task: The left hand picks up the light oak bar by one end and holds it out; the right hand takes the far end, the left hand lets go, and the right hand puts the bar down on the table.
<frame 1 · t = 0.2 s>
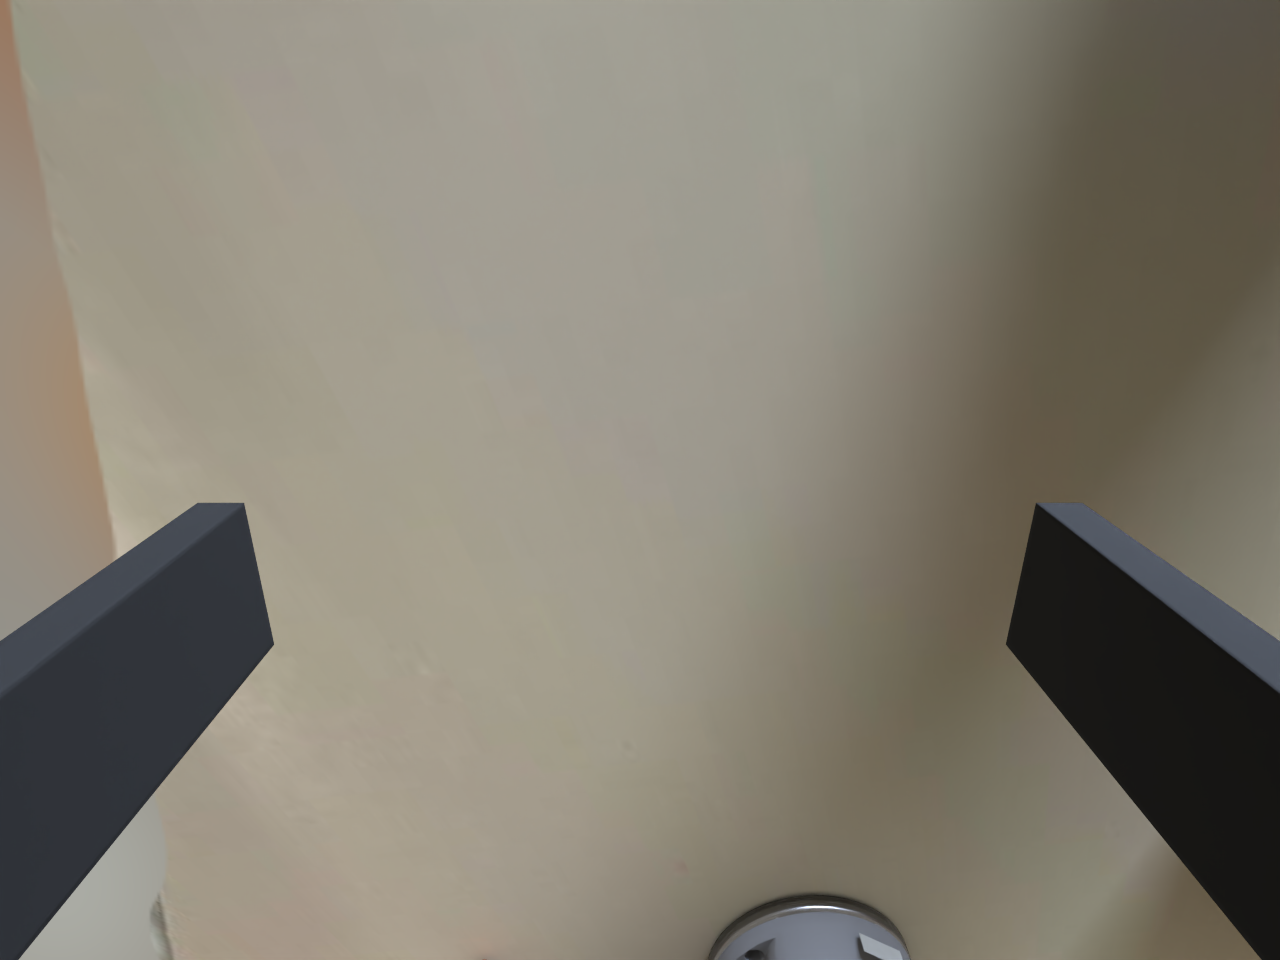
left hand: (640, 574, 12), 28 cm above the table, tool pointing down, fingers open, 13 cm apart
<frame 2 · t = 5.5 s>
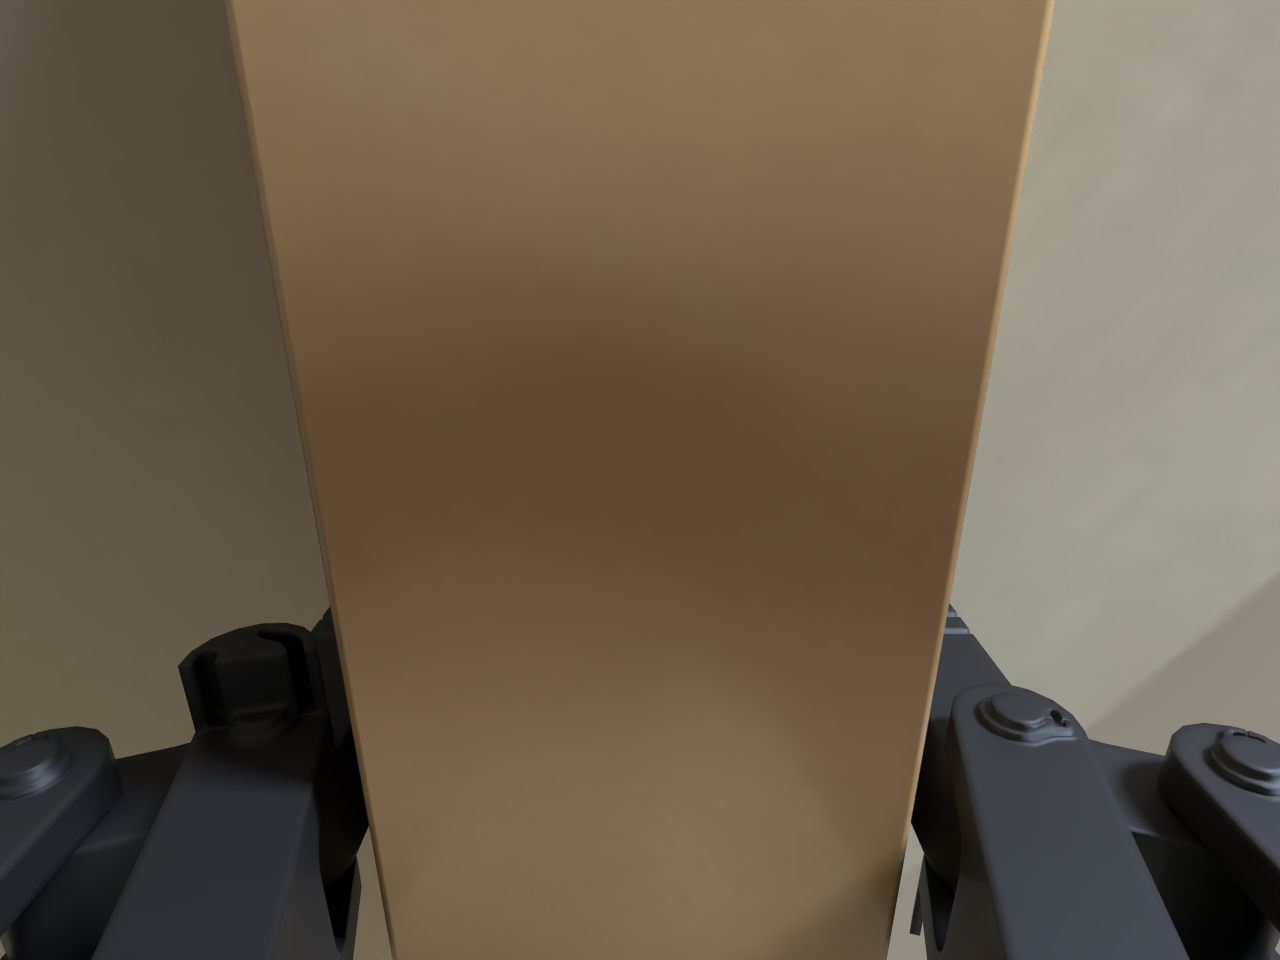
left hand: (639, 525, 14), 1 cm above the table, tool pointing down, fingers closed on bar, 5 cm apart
bar: (639, 32, 12), on the table, touching left hand
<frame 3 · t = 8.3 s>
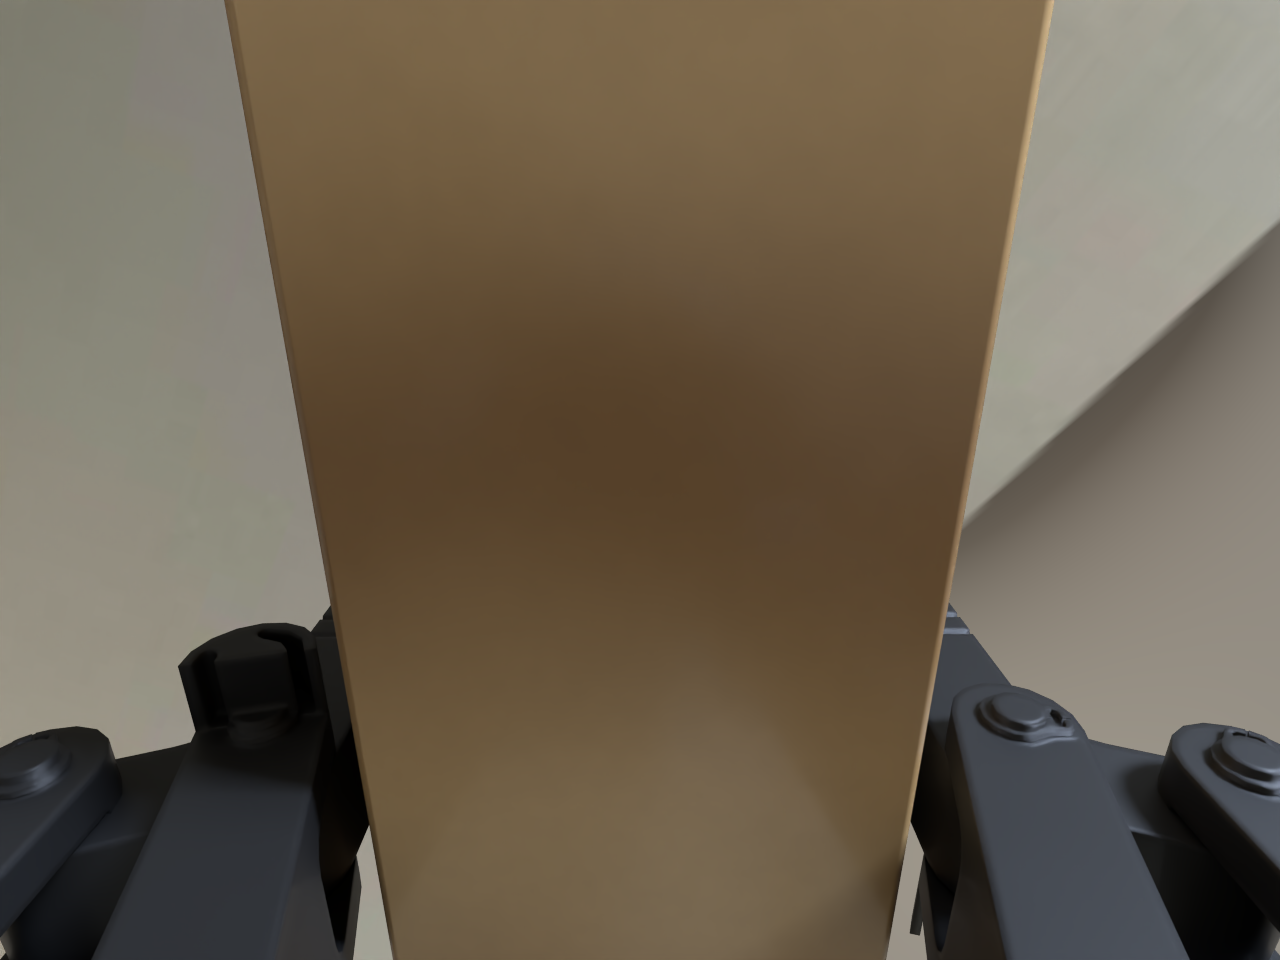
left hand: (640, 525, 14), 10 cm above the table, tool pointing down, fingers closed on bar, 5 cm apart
bar: (639, 33, 12), point 9 cm above the table, touching left hand
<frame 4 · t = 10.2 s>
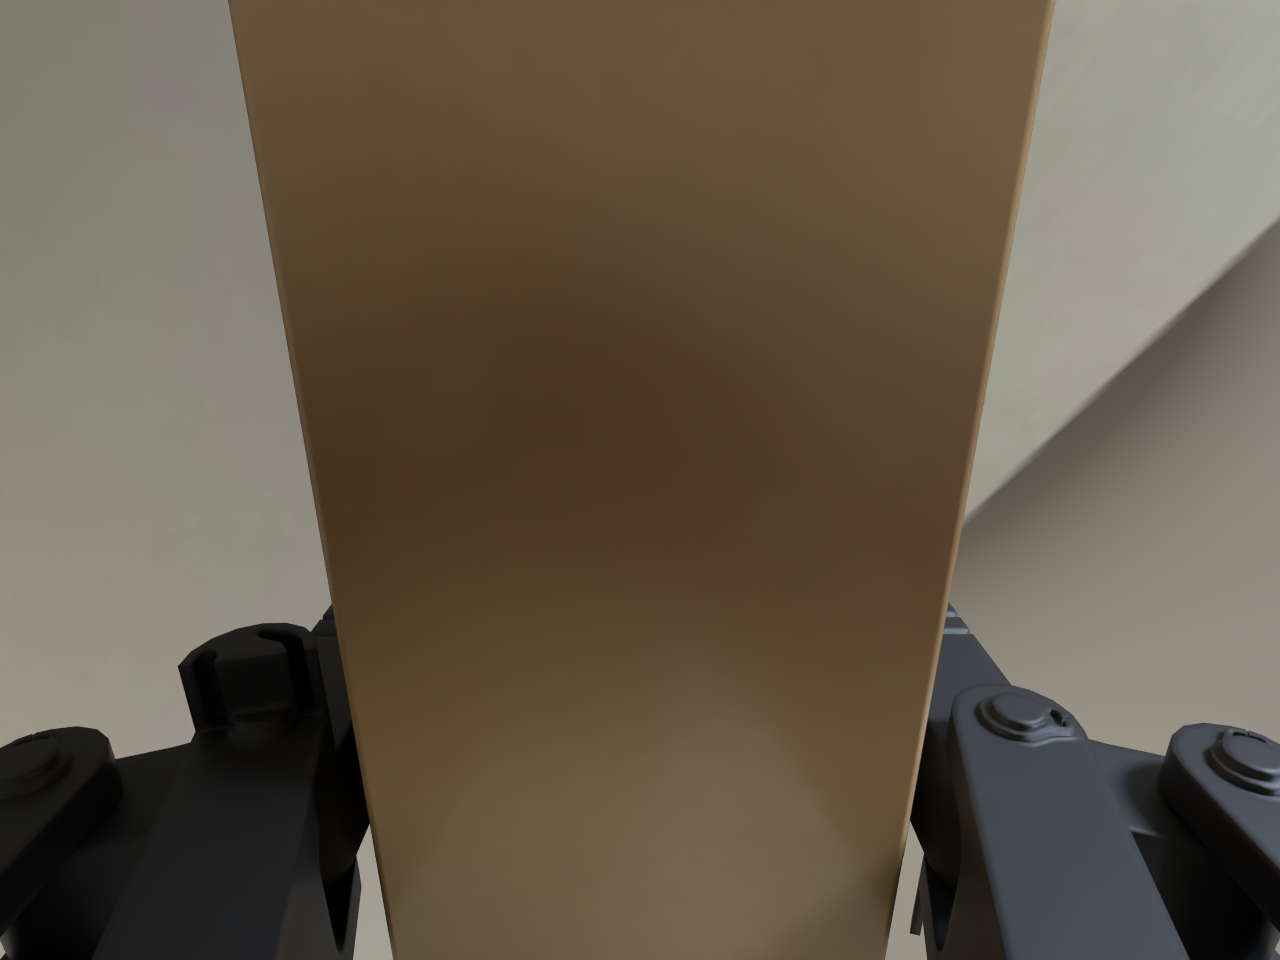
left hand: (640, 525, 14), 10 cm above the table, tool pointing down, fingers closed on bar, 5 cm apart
bar: (641, 33, 12), point 9 cm above the table, touching left hand, right hand
when the left hand's fingers open (10 cm above the table, at t = 11.0 s): bar stays where it is, held by the right hand.
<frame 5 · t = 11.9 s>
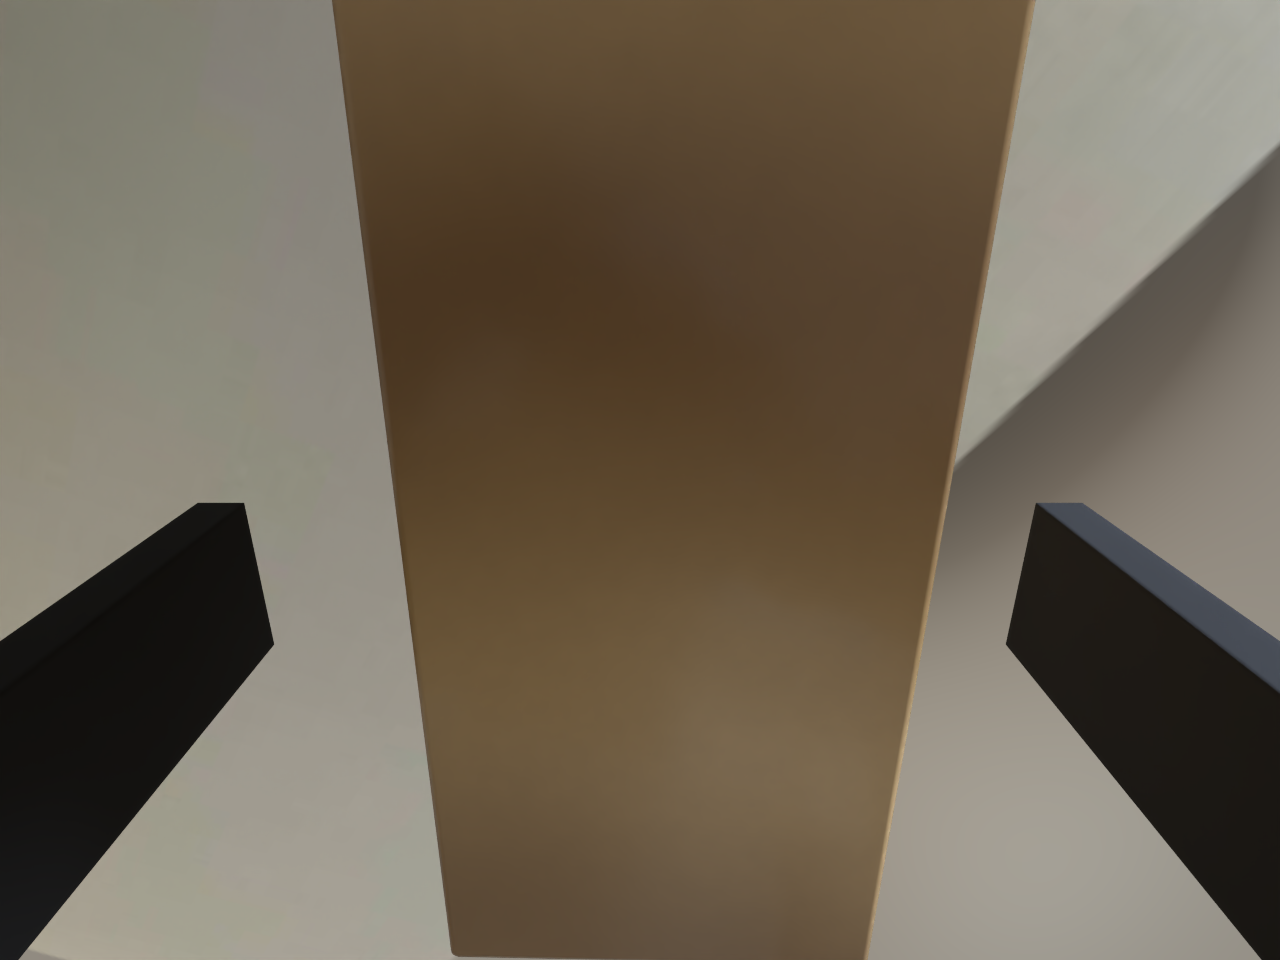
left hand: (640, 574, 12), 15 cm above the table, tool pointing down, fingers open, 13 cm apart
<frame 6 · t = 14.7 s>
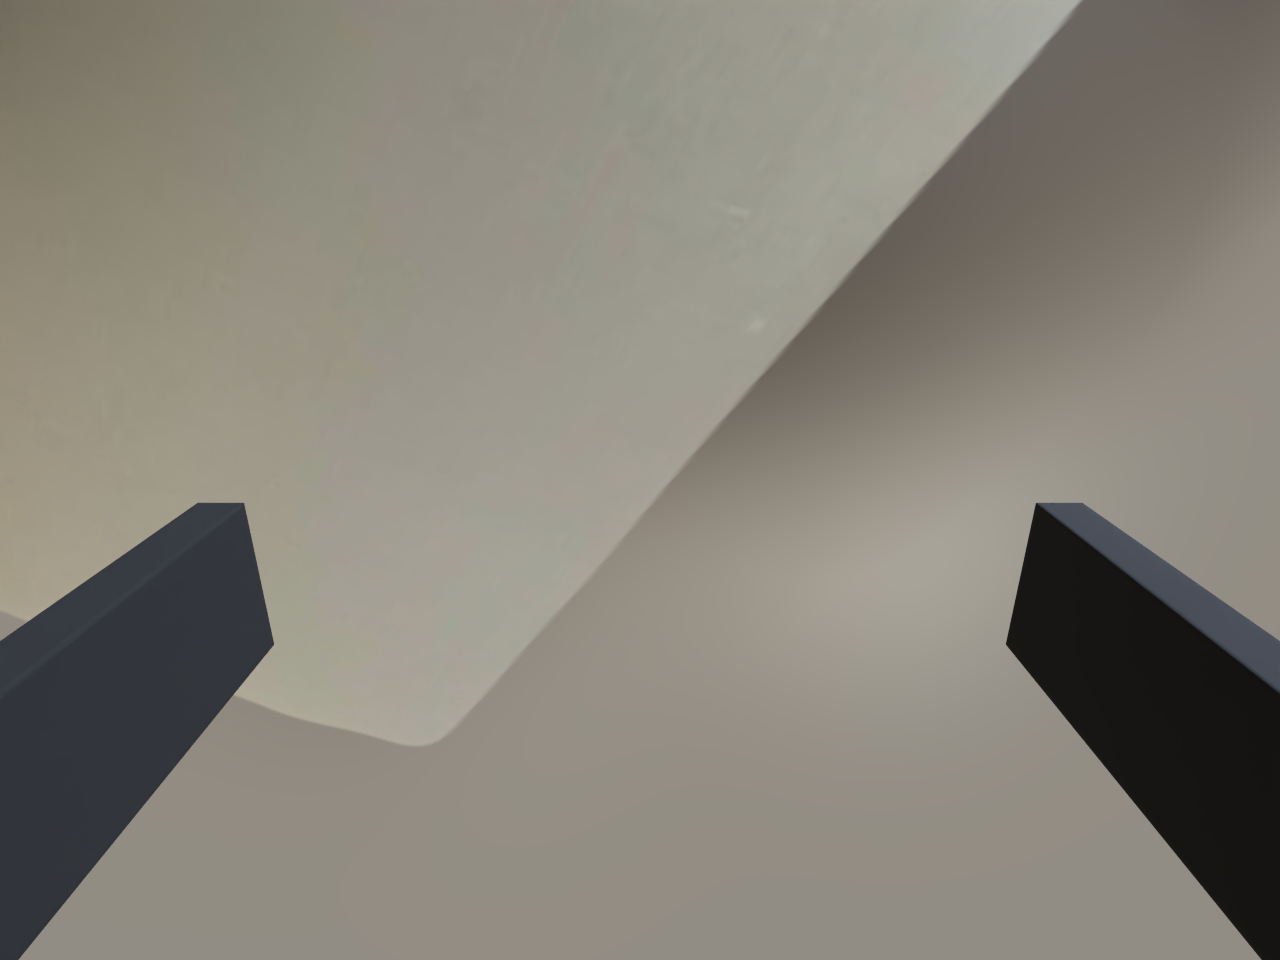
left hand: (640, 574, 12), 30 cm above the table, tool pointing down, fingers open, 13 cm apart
when the right hand's fingers open (5 cm above the table, at t = 19.7 s): bar stays where it is, on the table.
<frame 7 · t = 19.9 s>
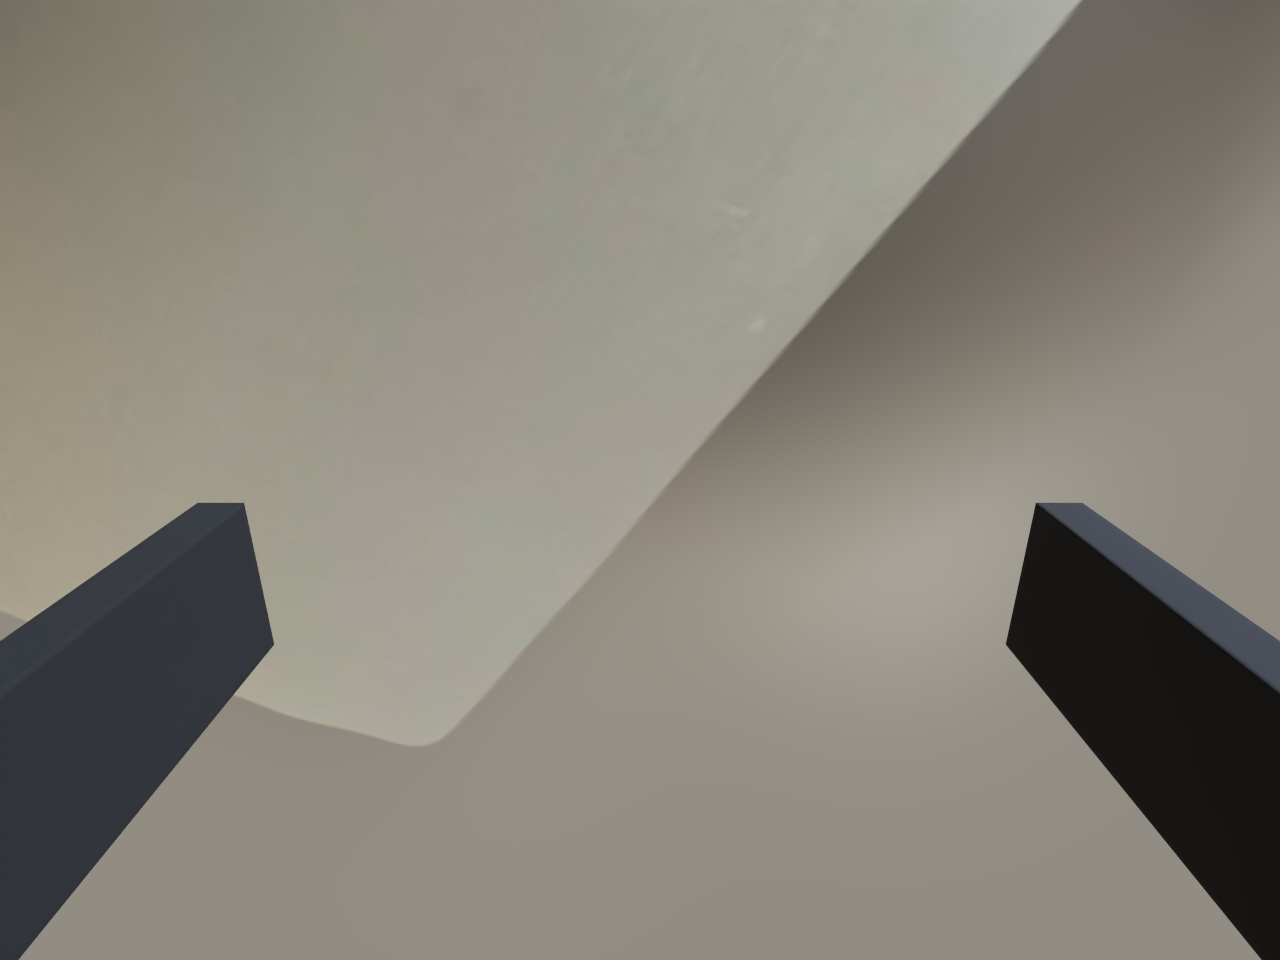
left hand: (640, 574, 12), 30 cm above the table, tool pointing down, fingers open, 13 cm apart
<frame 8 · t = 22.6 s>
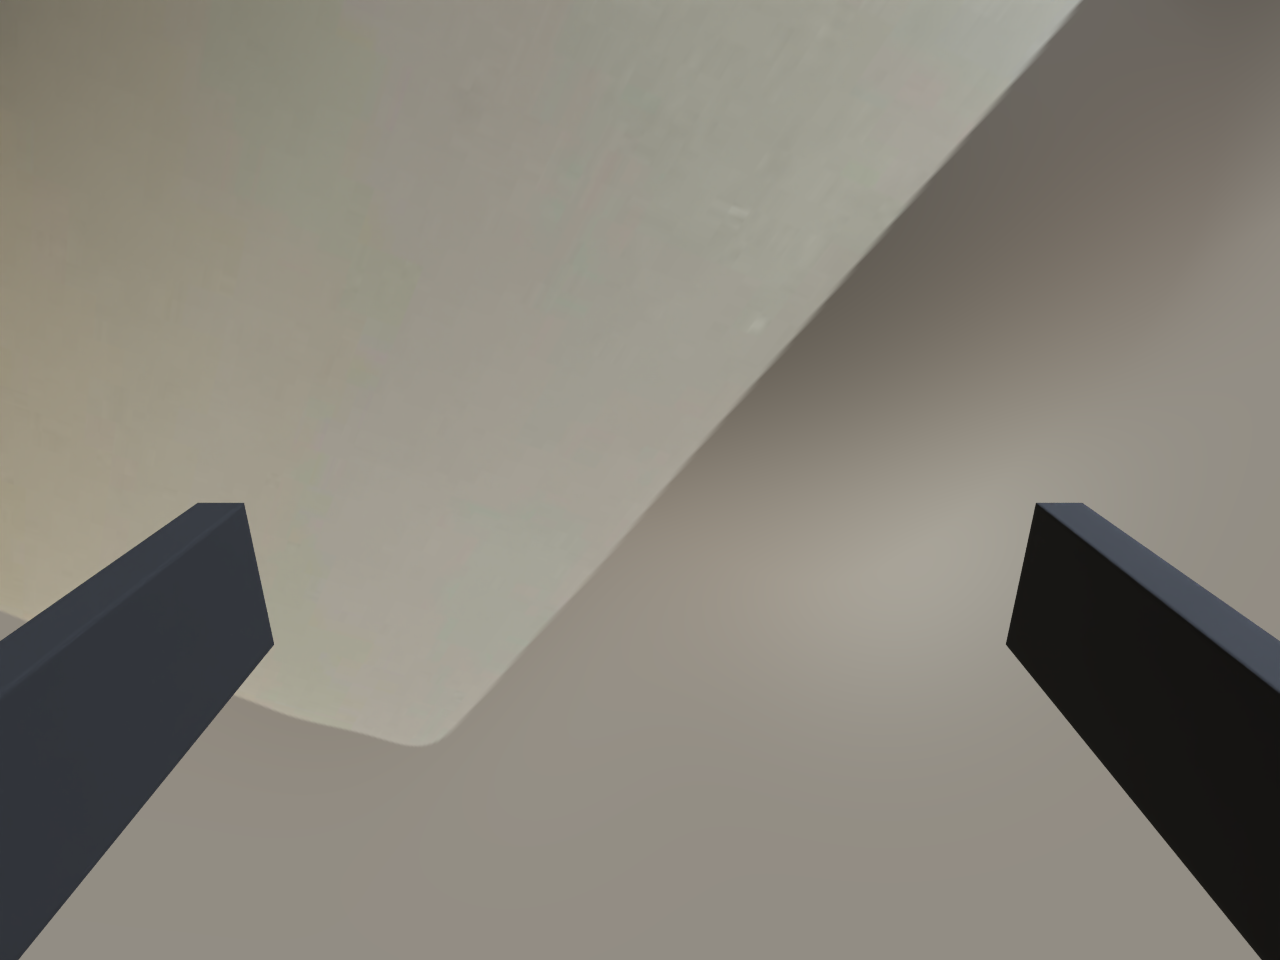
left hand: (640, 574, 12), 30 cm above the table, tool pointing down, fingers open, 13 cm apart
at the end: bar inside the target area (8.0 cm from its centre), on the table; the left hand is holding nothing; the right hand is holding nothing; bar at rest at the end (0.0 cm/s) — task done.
